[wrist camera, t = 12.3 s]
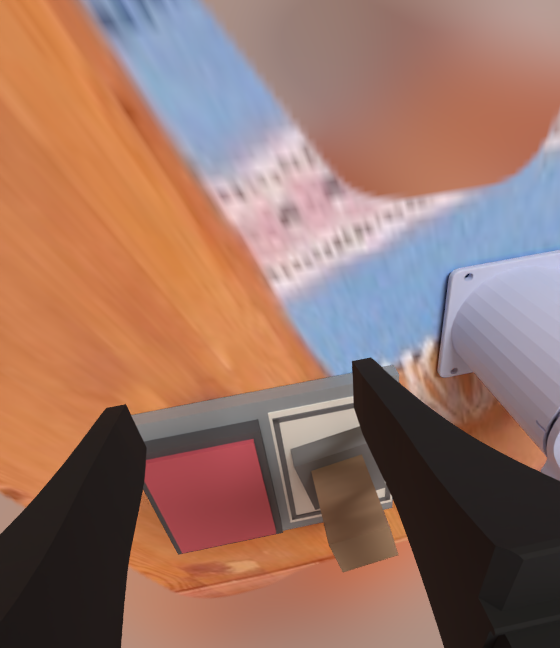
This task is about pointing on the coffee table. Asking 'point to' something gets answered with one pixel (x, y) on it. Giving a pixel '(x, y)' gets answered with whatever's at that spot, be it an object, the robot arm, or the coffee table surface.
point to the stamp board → (241, 460)
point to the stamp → (346, 497)
